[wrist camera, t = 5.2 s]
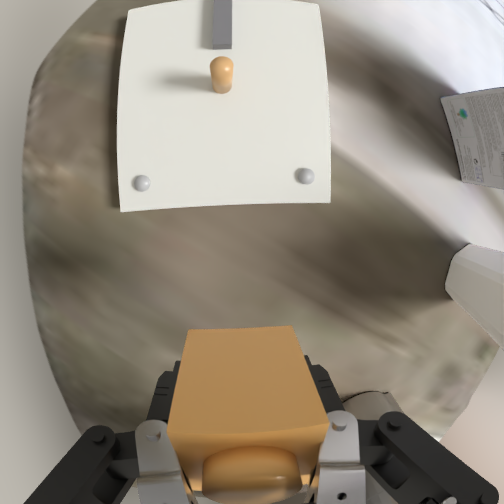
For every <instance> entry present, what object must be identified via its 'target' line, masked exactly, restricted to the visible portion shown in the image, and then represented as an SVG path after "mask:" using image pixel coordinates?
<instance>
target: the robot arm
mask: <svg viewBox="0 0 504 504" xmlns="http://www.w3.org/2000/svg"><path fill="white" fill-rule="evenodd" d="M304 358H305V360H306V363H307V365H308V368H309V371H310V373H311V376H312V378H313V381H314V383H315V386H316V389H317V391H318V394H319V396H320V399H321V401H322V404H323V407H324V409H325V412H326V414H327V417H328V420H329V422H330V424H329V427H328V430H327V433H326V437H325V440H324V442H320V445H319V448H318V454H317V463H316V466H315V468H314V469H311V471H310V474H309V481H308V488H307V493H306V497H305V502H304V504H497V503H498V500H499V494H498V491H497V489H496V488H495V487H494V486H493V485H492V484H490V483H489V482H488V481H486V480H485V479H484V478H482V477H481V476H480V475H479V474H477V473H476V472H475V471H474V470H472V469H471V468H470V467H468V466H467V465H466V464H465V463H464V462H462V461H461V460H460V459H459V458H457V457H456V456H455V455H454V454H452V453H451V452H450V451H448V450H447V449H446V448H445V447H444V446H442V445H441V444H440V443H439V442H438V441H436V440H435V439H434V438H433V437H432V436H430V435H429V434H428V433H427V432H426V431H424V430H423V429H422V428H421V427H420V426H418V425H417V424H416V423H415V422H414V421H412V420H411V419H410V418H409V417H408V416H407V415H405V414H404V413H403V411H402V410H401V408H400V407H399V405H398V403H397V402H396V401H395V399H394V398H393V396H392V395H391V393H387V394H383V393H380V392H367V393H363V394H360V395H357V396H355V397H353V398H351V399H349V400H347V401H345V402H344V403H342V402H341V400H340V398H339V396H338V394H337V391H336V389H335V387H334V385H333V383H332V381H331V379H330V376H329V374H328V372H327V371H326V370H325V369H324V368H323V367H322V366H320V365H311V362H310V360H309V357H308V356H307V355H304ZM180 364H181V361H176V362H175V366H174V370H173V371H165V372H164V373H163V374H162V375H161V376H160V377H159V378H158V382H157V385H156V388H155V392H154V395H153V399H152V402H151V406H150V409H149V413H148V417H147V420H146V421H145V422H143V423H141V424H140V425H139V426H138V427H137V428H136V430H135V431H132V432H125V433H116V434H114V432H113V431H112V430H111V429H110V428H109V427H106V426H102V425H97V426H93V427H91V428H89V429H88V430H87V431H86V432H85V433H84V434H83V435H82V436H81V437H80V439H79V440H78V441H77V442H76V443H75V445H74V446H73V447H72V448H71V449H70V450H69V451H68V452H67V454H66V455H65V456H64V457H63V458H62V459H61V461H60V462H59V463H58V464H57V465H56V466H55V468H54V469H53V470H52V471H51V472H50V473H49V474H48V476H47V477H46V478H45V479H44V480H43V482H42V483H41V484H40V485H39V486H38V487H37V488H36V490H35V491H34V492H33V493H32V494H31V496H30V497H29V498H28V499H27V500H26V501H25V503H24V504H120V503H121V501H122V500H123V498H124V497H125V495H126V493H127V492H128V490H129V489H130V487H131V486H132V484H133V483H134V481H135V479H136V478H137V487H138V493H139V498H140V503H141V504H198V502H197V500H196V498H195V495H194V492H193V489H192V486H191V483H190V480H189V478H188V476H186V475H185V473H184V471H183V469H182V467H181V464H180V460H179V457H178V454H177V452H176V450H174V449H173V447H172V444H171V442H170V440H169V437H168V435H167V432H166V431H167V425H168V420H169V415H170V410H171V405H172V400H173V396H174V391H175V386H176V382H177V377H178V373H179V368H180Z"/></svg>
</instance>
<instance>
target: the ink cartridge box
mask: <svg viewBox="0 0 504 504" xmlns="http://www.w3.org/2000/svg"><path fill="white" fill-rule="evenodd" d="M441 103H442V105H443V108H444V111H445V114H446V117H447V121H448V124H449V127H450V131H451V134H452V138H453V142H454V146H455V150H456V154H457V159H458V163H459V168H460V173H461V178H462V182H463V183H469V184H476V185H482V186H488V187H493V188H498V189H504V87H499V88H492V89H485V90H479V91H473V92H467V93H462V94H456V95H451V96H445V97H441Z"/></svg>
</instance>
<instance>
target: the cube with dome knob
mask: <svg viewBox="0 0 504 504" xmlns="http://www.w3.org/2000/svg"><path fill="white" fill-rule="evenodd" d="M329 424H330V422H329V420H328V417H327V414H326V412H325V409H324V407H323V404H322V401H321V399H320V396H319V394H318V391H317V389H316V386H315V383H314V381H313V378H312V376H311V373H310V371H309V368H308V365H307V363H306V360H305V358H304V355H303V353H302V350H301V348H300V345H299V342H298V340H297V337H296V335H295V332H294V330H293V327H292V325H289V326H275V327H258V328H236V329H189V330H188V334H187V338H186V342H185V346H184V351H183V355H182V359H181V364H180V368H179V373H178V377H177V382H176V386H175V391H174V396H173V400H172V405H171V410H170V415H169V420H168V425H167V431H166V432H167V435H168V437H169V440H170V442H171V444H172V447H173V449H174V450H176V452H177V454H178V457H179V460H180V464H181V467H182V469H183V471H184V473H185V475H186V476H188V478H189V480H190V483H191V486H192V489H193V490H199V491H202V493H203V495H204V496H206V497H207V498H209V499H211V500H213V501H216V502H219V503H223V504H269V503H274V502H278V501H281V500H284V499H286V498H289V497H291V496H293V495H294V494H296V493H297V492H299V491H300V490H301V488H302V486H303V484H308V481H309V474H310V471H311V469H314V468H315V466H316V463H317V454H318V448H319V445H320V442H324V440H325V437H326V433H327V430H328V427H329Z"/></svg>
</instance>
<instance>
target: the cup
mask: <svg viewBox="0 0 504 504" xmlns="http://www.w3.org/2000/svg"><path fill="white" fill-rule="evenodd" d="M445 290H446V291H447V293H448V294H449V295H450V296H451V298H452V299H453V300H454V301H455V302H456V303H457V304H458V305H459V306H460V307H461V308H463V309H464V310H465V311H466V312H467V313H468V314H469V315H470V316H471V317H472V318H473V319H474V320H475V321H476V322H477V323H478V324H479V325H480V326H481V327H482V328H483V329H484V330H485V331H486V332H487V333H488V334H489V335H490V336H491V337H492V338H493V340H494V341H495V342H496V343H497V344H498V345H499V346H500V347H501V348H502V349H503V350H504V252H501V251H497V250H493V249H489V248H485V247H481V246H477V245H473V244H468V245H467V246H466V247H464V248H463V249H462V250H460V251H459V252H458V253H456V254H455V255H454V257H453V259H452V260H451V264H450V268H449V272H448V275H447V279H446V282H445Z"/></svg>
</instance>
